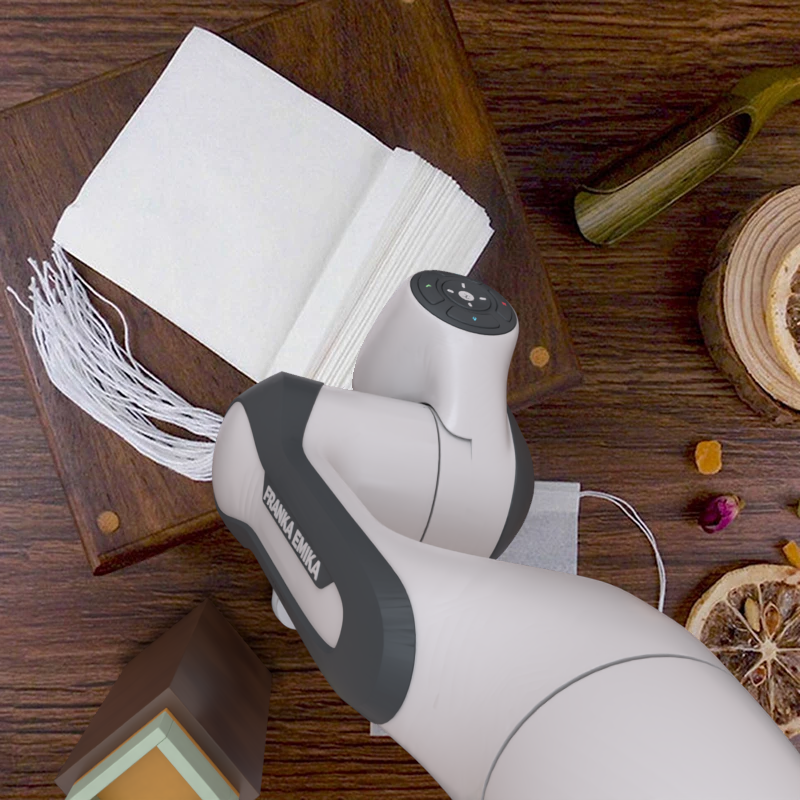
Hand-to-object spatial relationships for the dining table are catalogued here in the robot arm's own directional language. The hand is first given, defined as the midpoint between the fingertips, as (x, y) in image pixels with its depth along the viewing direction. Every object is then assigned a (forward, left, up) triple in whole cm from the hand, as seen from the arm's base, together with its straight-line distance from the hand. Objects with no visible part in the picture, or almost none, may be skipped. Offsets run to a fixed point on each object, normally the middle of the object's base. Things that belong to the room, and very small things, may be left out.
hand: (320, 556), depth 80 cm
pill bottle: (-2, +4, -9) cm, 10 cm away
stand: (-2, +15, -8) cm, 17 cm away
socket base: (-2, +15, +18) cm, 23 cm away
